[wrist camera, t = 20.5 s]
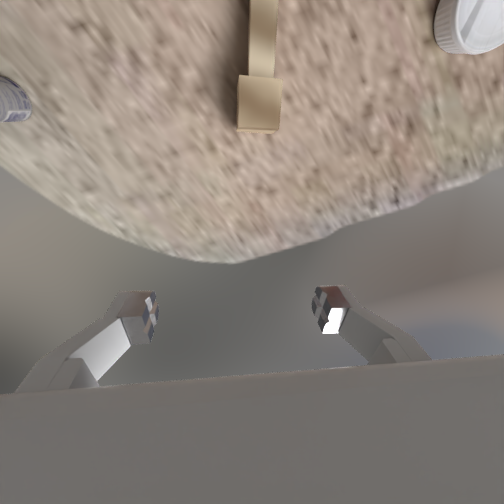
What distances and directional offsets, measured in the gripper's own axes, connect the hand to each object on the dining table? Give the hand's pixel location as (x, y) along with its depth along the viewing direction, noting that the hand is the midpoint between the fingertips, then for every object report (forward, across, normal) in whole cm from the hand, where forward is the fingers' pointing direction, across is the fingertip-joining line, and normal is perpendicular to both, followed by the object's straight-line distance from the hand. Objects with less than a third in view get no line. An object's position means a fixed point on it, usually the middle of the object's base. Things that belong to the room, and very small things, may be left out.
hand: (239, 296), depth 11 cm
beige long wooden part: (+30, -4, -16) cm, 34 cm away
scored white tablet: (+34, -34, -22) cm, 53 cm away
